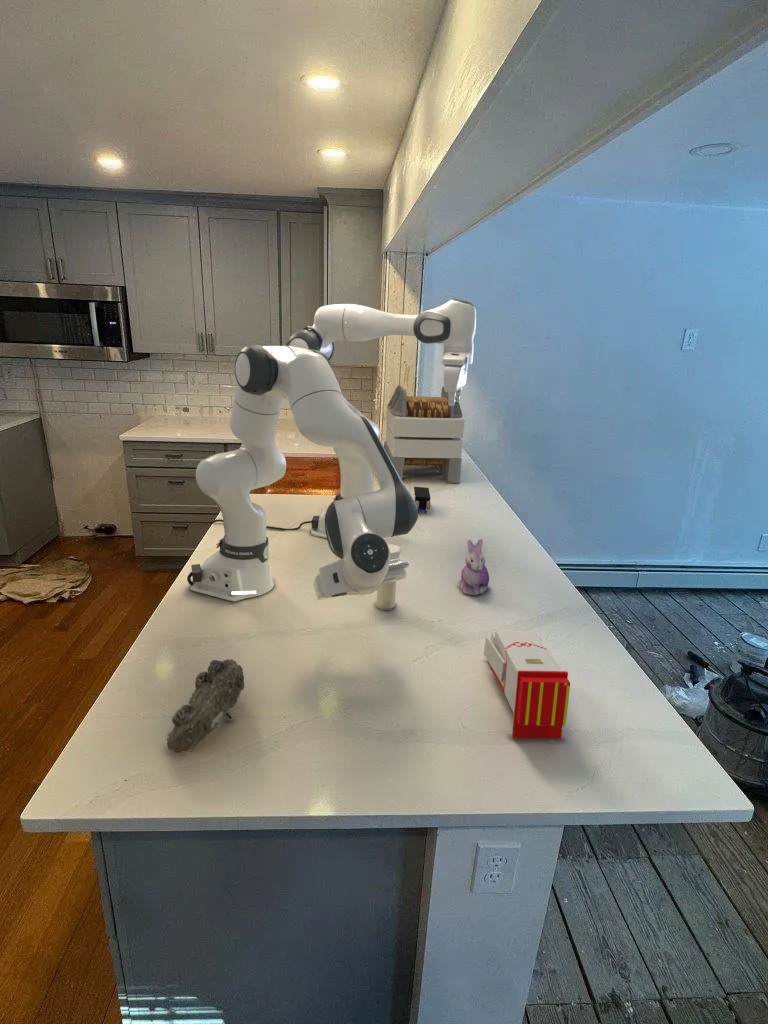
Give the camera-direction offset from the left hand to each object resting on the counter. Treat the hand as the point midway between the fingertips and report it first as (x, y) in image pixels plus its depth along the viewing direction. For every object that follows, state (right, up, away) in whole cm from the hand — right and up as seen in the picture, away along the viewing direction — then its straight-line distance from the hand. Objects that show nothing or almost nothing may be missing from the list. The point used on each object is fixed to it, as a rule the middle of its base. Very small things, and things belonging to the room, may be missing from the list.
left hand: (358, 586), depth 130 cm
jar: (+6, -8, +22) cm, 24 cm away
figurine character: (+21, +18, +95) cm, 99 cm away
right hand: (+28, +51, +44) cm, 73 cm away
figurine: (+32, -5, +33) cm, 46 cm away
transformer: (+23, +36, +145) cm, 151 cm away
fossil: (-27, -22, -22) cm, 41 cm away
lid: (+7, +8, +16) cm, 19 cm away
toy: (+34, -21, -11) cm, 41 cm away
